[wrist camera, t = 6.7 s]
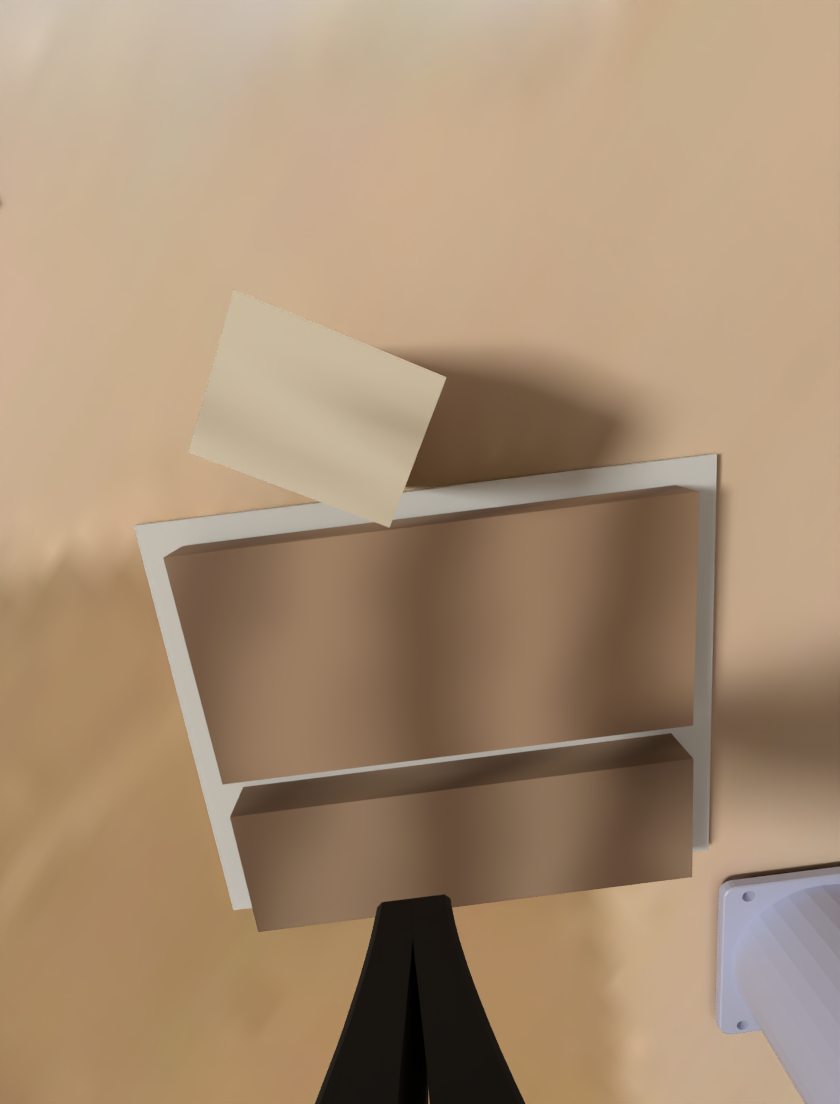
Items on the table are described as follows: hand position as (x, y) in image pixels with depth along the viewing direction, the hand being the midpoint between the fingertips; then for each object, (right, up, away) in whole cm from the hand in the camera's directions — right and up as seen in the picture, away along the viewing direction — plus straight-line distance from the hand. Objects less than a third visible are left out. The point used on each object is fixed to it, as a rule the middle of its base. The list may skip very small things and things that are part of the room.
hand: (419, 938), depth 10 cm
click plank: (+1, +5, +8) cm, 9 cm away
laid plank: (+2, -3, +10) cm, 10 cm away
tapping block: (-3, +10, +3) cm, 10 cm away
